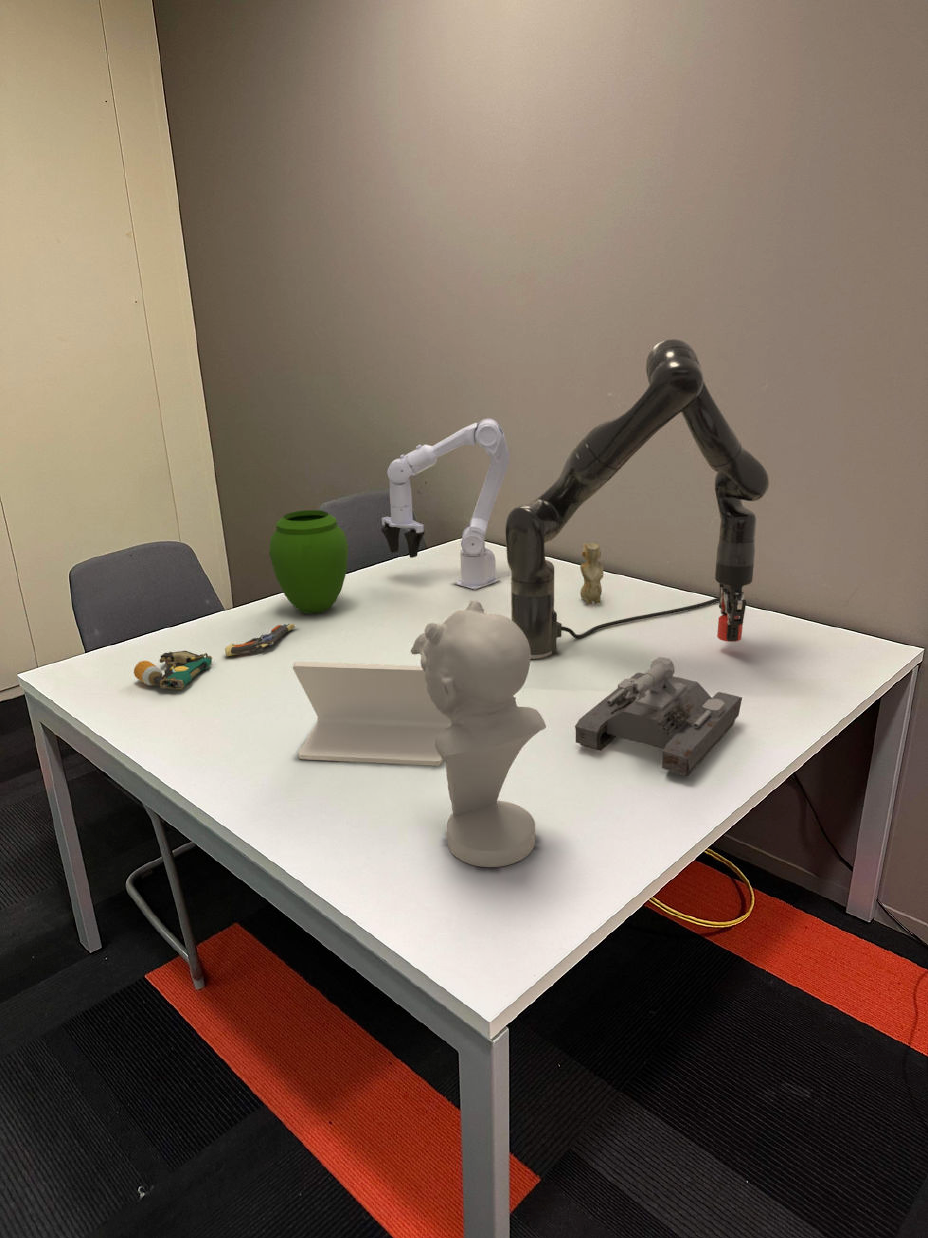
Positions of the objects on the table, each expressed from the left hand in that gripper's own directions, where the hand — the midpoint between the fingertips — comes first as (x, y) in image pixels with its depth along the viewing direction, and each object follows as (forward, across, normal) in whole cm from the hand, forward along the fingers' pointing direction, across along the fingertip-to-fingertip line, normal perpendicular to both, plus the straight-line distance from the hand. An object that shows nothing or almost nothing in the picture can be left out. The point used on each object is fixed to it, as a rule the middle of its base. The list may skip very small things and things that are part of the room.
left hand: (403, 554), depth 231 cm
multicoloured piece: (+9, +8, -73) cm, 74 cm away
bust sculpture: (+9, +93, -72) cm, 118 cm away
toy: (+9, +98, -29) cm, 103 cm away
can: (+5, +89, +14) cm, 90 cm away
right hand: (+5, +89, +14) cm, 90 cm away
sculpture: (+9, +48, +20) cm, 52 cm away
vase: (+9, -3, -28) cm, 30 cm away
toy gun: (+9, +6, -50) cm, 51 cm away
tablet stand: (+9, +61, -62) cm, 87 cm away
